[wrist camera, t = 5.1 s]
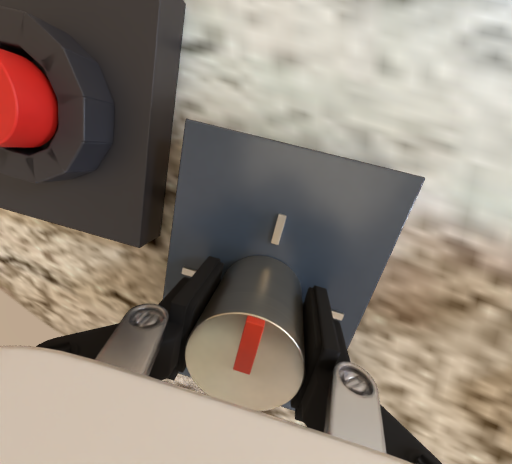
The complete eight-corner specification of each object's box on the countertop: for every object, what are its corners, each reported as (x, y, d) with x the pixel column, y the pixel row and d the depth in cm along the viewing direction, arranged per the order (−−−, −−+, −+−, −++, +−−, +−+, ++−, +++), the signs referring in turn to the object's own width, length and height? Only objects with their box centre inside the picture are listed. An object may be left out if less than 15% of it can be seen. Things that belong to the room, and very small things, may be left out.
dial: (289, 335, 13) (285, 435, 8) (215, 313, 13) (173, 398, 9) (312, 268, 12) (323, 343, 7) (230, 245, 12) (189, 302, 7)
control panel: (312, 374, 17) (316, 421, 14) (176, 332, 18) (152, 368, 15) (397, 172, 13) (428, 178, 10) (208, 125, 13) (183, 117, 10)
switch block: (160, 235, 16) (117, 261, 12) (17, 195, 16) (-66, 208, 13) (186, 3, 12) (134, -68, 8) (-3, -37, 12) (-133, -120, 9)
